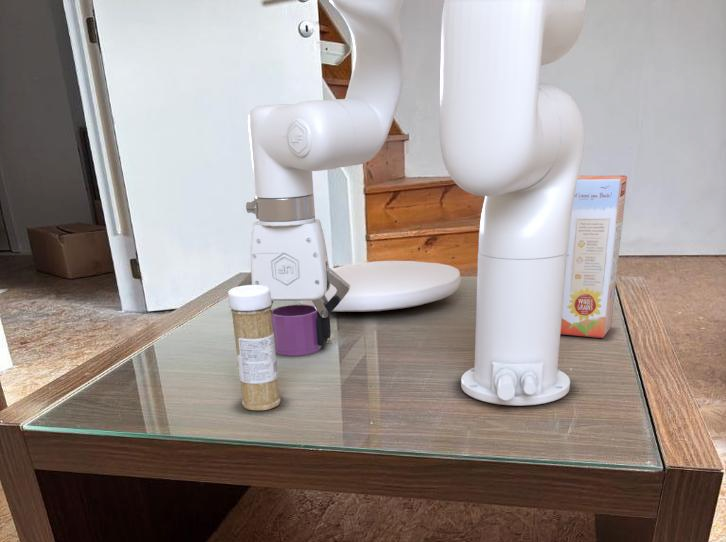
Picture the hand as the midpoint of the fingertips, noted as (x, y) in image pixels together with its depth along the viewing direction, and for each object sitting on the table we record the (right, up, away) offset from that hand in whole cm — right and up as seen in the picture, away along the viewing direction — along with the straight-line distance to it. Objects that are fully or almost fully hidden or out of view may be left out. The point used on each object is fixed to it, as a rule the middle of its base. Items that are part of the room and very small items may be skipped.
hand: (297, 342), depth 103 cm
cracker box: (+38, +2, +3) cm, 38 cm away
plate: (+12, +11, +23) cm, 28 cm away
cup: (0, -1, 0) cm, 1 cm away
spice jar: (-2, -11, -19) cm, 22 cm away
